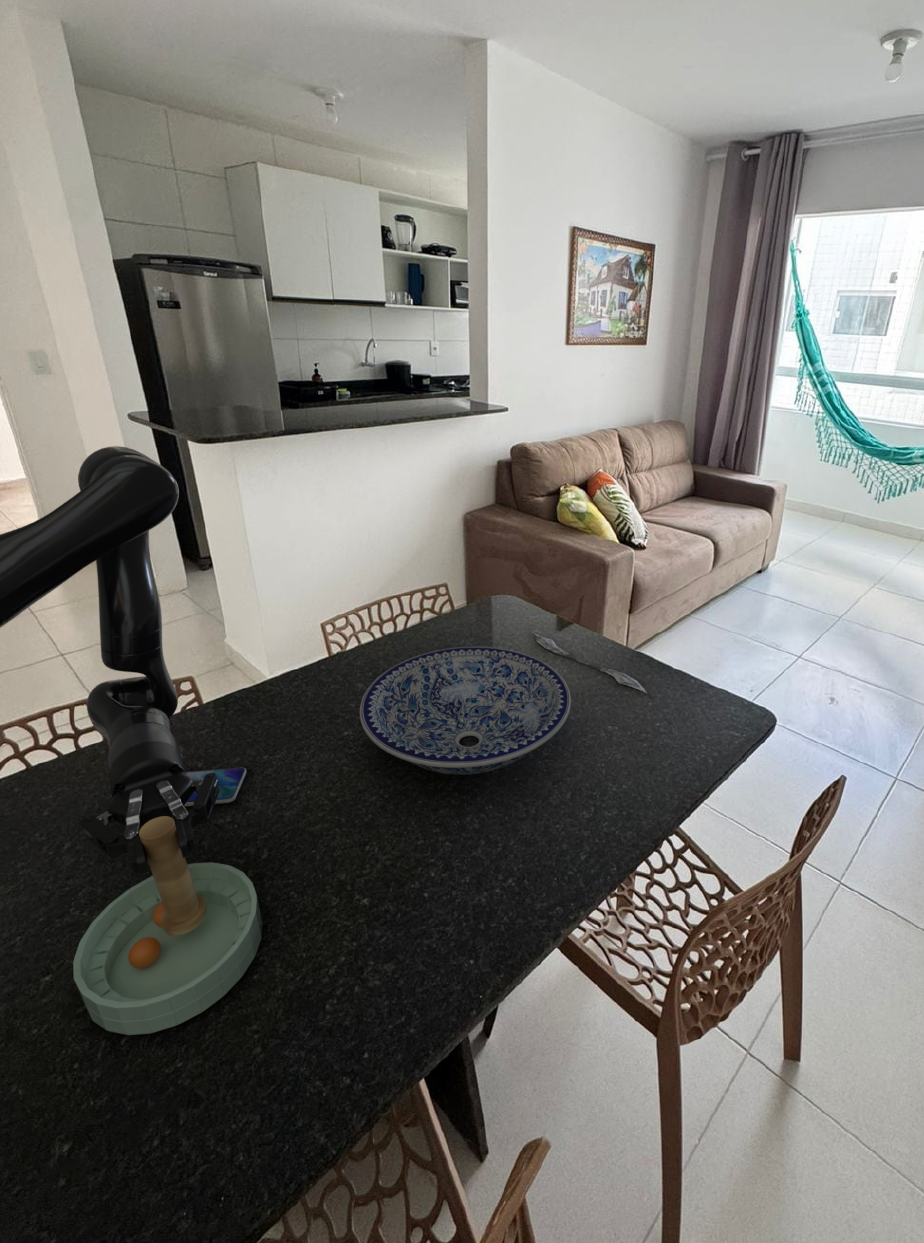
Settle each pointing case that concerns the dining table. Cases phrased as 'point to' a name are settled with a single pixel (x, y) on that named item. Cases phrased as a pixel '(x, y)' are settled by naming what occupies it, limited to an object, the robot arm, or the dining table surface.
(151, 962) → the bead
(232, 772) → the smartphone
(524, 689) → the ceramic bowl
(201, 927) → the pale green shallow dish
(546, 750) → the dining table surface
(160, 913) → the bead
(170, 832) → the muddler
